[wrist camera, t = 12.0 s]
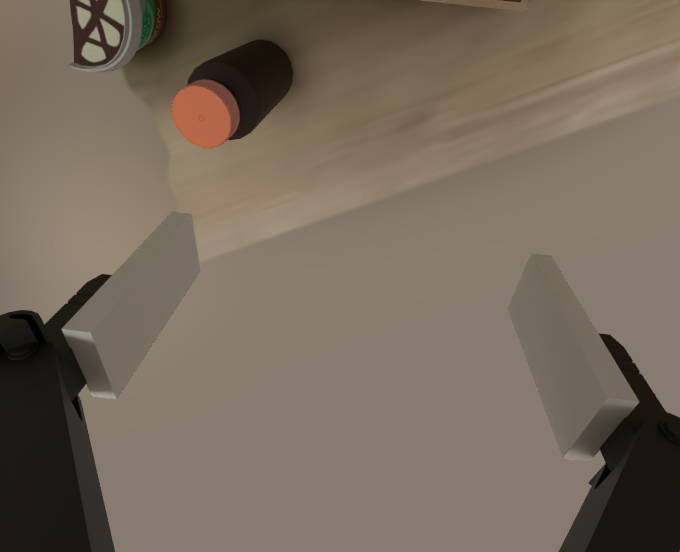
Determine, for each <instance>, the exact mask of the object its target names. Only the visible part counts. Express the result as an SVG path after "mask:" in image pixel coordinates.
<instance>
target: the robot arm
mask: <svg viewBox="0 0 680 552" xmlns="http://www.w3.org/2000/svg"><path fill="white" fill-rule="evenodd" d="M199 273H200V266H199V259H198V253H197V246H196V240H195V234H194V227H193V221H192V214H188V213H179V212H172V213H171V214H169V216H168V217H167V218H166V219H165V220H164V221H163V222H162V223H161V224H160V225H159V226H158V227H157V228H156V229H155V231H153V232H152V234H151V235H150V236H149V237H148V238H147V239H146V240H145V241H144V242H143V243H142V244H141V245H140V246H139V247H138V248H137V249H136V251H135V252H134V253H133V254H132V255H131V256H130V257H129V258H128V259H127V260H126V261H125V262H124V263H123V264H122V265H121V266H120V268H118V269H117V271H116V272H115V273H114V274H113V275H106V274H101V275H99V276H98V277H96V278H94V279H92V280H90V281H89V282H87V283H86V284H85V285H84V286H83V287H82V288H81V289H80V290H79V291H78V292H77V294H76V295H74V296H73V297H72V298H71V299H70V300H69V301H68V304H65V305H64V306H63V307H62V308H61V309H60V310H59V311H58V312H57V313H56V314H55V315H54V316H53V317H52V318H51V319H50V320H49V321H48V322H47V323H46V324H45V325H44V323H43V321H42V319H41V317H40V316H39V314H38V313H35V312H33V311H27V310H19V311H14V312H9V313H6V314H3V315H0V552H115V550H114V545H113V541H112V536H111V532H110V527H109V523H108V518H107V514H106V510H105V505H104V501H103V496H102V492H101V487H100V483H99V479H98V475H97V470H96V465H95V461H94V456H93V452H92V448H91V443H90V439H89V434H88V430H87V425H86V421H85V416H84V412H83V408H82V403H81V400H80V398H79V396H78V394H79V392H80V391H81V389H82V388H83V387H84V386H85V384H87V387H88V389H89V391H90V393H91V395H92V396H94V397H102V398H109V399H118V397H119V396H120V394H121V392H122V391H123V389H124V388H125V386H126V385H127V383H128V382H129V380H130V379H131V377H132V376H133V374H134V372H135V371H136V369H137V368H138V366H139V365H140V363H141V362H142V360H143V359H144V357H145V356H146V354H147V352H148V351H149V349H150V348H151V346H152V345H153V343H154V342H155V340H156V339H157V337H158V336H159V334H160V333H161V331H162V329H163V328H164V326H165V324H166V323H167V322H168V320H169V319H170V317H171V316H172V314H173V313H174V311H175V310H176V308H177V306H178V305H179V303H180V302H181V300H182V299H183V297H184V296H185V294H186V293H187V291H188V290H189V288H190V286H191V285H192V283H193V282H194V280H195V279H196V277H197V276H198V274H199ZM508 311H509V313H510V316H511V319H512V322H513V324H514V327H515V330H516V332H517V335H518V338H519V341H520V343H521V346H522V348H523V351H524V354H525V357H526V360H527V362H528V365H529V367H530V370H531V373H532V375H533V378H534V381H535V384H536V387H537V389H538V392H539V395H540V397H541V400H542V403H543V405H544V408H545V411H546V413H547V416H548V419H549V422H550V424H551V427H552V430H553V432H554V435H555V438H556V441H557V443H558V446H559V449H560V451H561V454H562V457H563V458H566V459H573V460H581V461H589V462H590V461H591V460H592V459H593V457H594V456H595V455H596V453H598V451H599V450H601V453H602V455H603V457H604V460H605V462H606V463H605V465H604V466H603V467H602V468H601V469H600V470H599V471H598V472H597V474H596V475H595V476H594V477H593V478H592V479H591V480H590V482H589V484H590V485H592V487H591V489H590V491H589V493H588V495H587V497H586V499H585V501H584V503H583V505H582V507H581V509H580V511H579V513H578V515H577V517H576V518H575V520H574V522H573V524H572V527H571V529H570V530H569V533H568V534H567V536H566V538H565V540H564V542H563V544H562V546H561V548H560V550H559V552H679V551H680V418H679V417H677V416H675V415H672V414H670V413H666V411H665V410H664V408H663V407H662V405H661V403H660V402H659V400H658V399H657V398H656V396H655V394H654V393H653V391H652V390H651V388H650V387H649V385H648V384H647V382H646V380H645V379H644V377H643V376H642V374H639V370H638V368H637V367H636V365H635V363H632V359H631V357H630V356H629V355H628V353H627V351H626V350H625V348H624V347H623V346H622V345H621V344H620V343H619V342H617V341H616V340H615V339H614V338H613V337H612V336H610V335H607V334H599V333H598V332H597V331H596V329H595V328H594V326H593V324H592V322H591V321H590V319H589V317H588V316H587V314H586V312H585V311H584V309H583V307H582V306H581V304H580V302H579V301H578V299H577V298H576V296H575V294H574V293H573V291H572V289H571V288H570V286H569V284H568V282H567V281H566V279H565V277H564V276H563V274H562V273H561V271H560V269H559V268H558V266H557V264H556V263H555V261H554V259H553V258H552V256H549V255H541V254H532V253H531V255H530V257H529V259H528V262H527V264H526V266H525V269H524V271H523V273H522V276H521V278H520V281H519V283H518V285H517V288H516V290H515V293H514V294H513V297H512V299H511V302H510V304H509V306H508Z"/></svg>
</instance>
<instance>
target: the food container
mask: <svg viewBox="0 0 680 552" xmlns="http://www.w3.org/2000/svg"><path fill="white" fill-rule="evenodd" d="M70 8H71V16H72V24H73V36H74V62H73V63H71V64H69V65H67V66H69V67H72V68H75V69H78V70H82V71H88V72H109V71H114V70H117V69H119V68H121V67H123V66H124V65H125V64H127V63H128V62H129V61H130V60H131V59H132V57H133V56H134V55H135V53H136V51H137V50H139V49H141V48H143V47H145V46H147V45H149V44H151V43H153V42H155V40H156V39H157V38H158V37H159V36H160V35H161V34H162V32H163V29H164V27H165V24H166V19H167V6H166V0H70Z"/></svg>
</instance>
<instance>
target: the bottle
mask: <svg viewBox="0 0 680 552" xmlns="http://www.w3.org/2000/svg"><path fill="white" fill-rule="evenodd" d="M291 83H292V69H291V64H290V61H289V60H288V58H287V56H286V54H285V53H284V52H283V51H282V50H281V49H280V48H279V47H278V46H277V45H275V44H273V43H272V42H270V41H265V40H256V41H252V42H249V43H247V44H245V45H242V46H240V47H238V48H235V49H233V50H231V51H229V52H226V53H224V54H222V55H220V56H217V57H215V58H213V59H210V60H208V61H206V62H204V63H203V64H201V65H200V66H198V67H197V68H195V69H194V71H193V73H192V74H191V76H190V77H189V79H188V84H187V86H185V87H183V88H182V89H181V90H179V92H177V94H176V96H174V97H175V98H173V99H174V100H173V103H172V104H173V106H172V112H173V114H172V115H173V120H174V121H175V122H174V123H175V124H176V126H177V128H178V130H179V131H180V133H181V134H182V135H183V136H184V137H185V138H186V139H188V141H190V143H193V144H195V145H197V146H200V147H202V148H203V147H205V148H206V147H207V148H211V147H212V148H213V147H218V146H220V145H222V144H223V143H224V142H226V141H227V140H234V139H240V138H242V137H244V136H246V135H247V134H249V133H251V132H252V131H253V129H254V128H255V127H256V126H257V125H258V124H259V123H260V122H261V121H262V120H263V119H264V118H265V117H266V115H267V114H268V113H269V112H270V111H271V110H272V109H273V108H274V107H275V106H276V105H277V104H278V103H279V102H280V100H281V99H282V98H283V97H284V96H285V95H286V93H287V92H288V91H289V89H290V86H291Z"/></svg>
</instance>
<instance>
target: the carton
mask: <svg viewBox="0 0 680 552" xmlns="http://www.w3.org/2000/svg"><path fill="white" fill-rule="evenodd" d="M421 1H430V2H440V3H449V4H458V5H467V6H476V7H485V8H494V9H503V10H513V11H522V12H525V11H526V8H527V5H528V2H529V0H421Z"/></svg>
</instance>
